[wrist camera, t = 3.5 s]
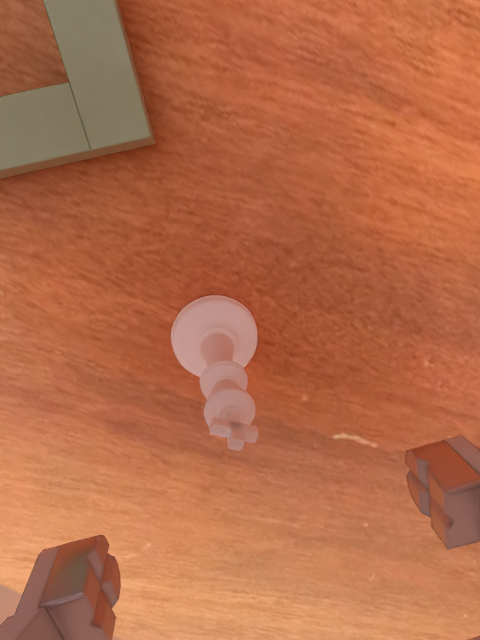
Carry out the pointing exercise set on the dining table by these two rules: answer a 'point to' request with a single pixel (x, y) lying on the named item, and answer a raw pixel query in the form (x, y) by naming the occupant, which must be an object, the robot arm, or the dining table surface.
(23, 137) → the dock
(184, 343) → the chess piece
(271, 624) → the dining table surface
